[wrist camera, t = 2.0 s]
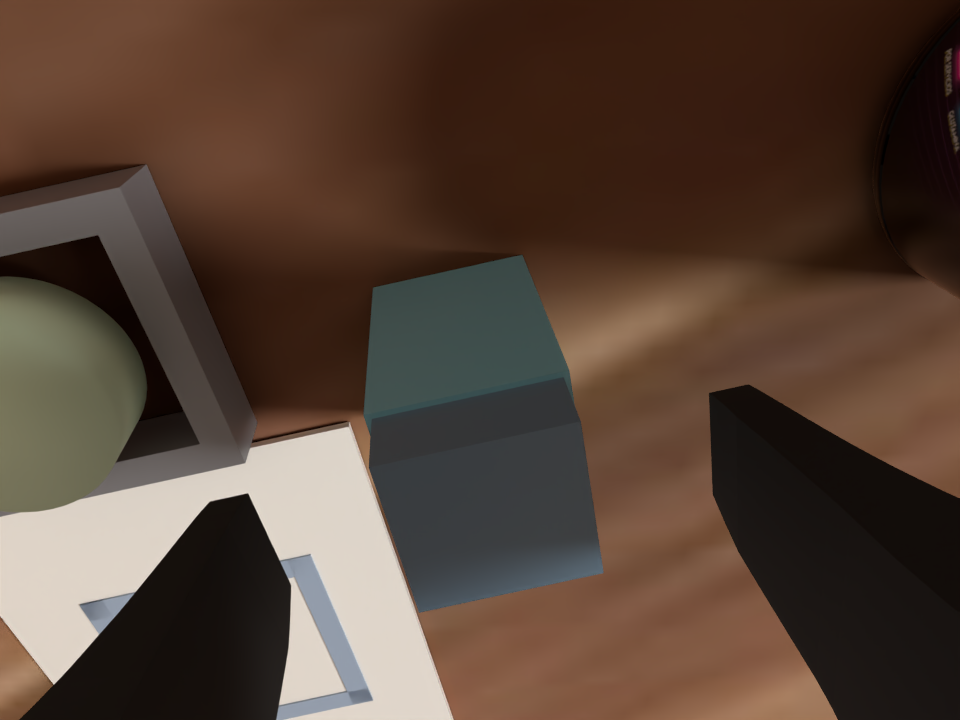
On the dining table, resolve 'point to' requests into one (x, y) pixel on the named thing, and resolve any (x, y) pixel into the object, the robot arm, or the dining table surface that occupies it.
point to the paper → (299, 546)
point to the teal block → (476, 436)
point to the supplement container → (924, 162)
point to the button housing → (147, 320)
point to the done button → (61, 395)
